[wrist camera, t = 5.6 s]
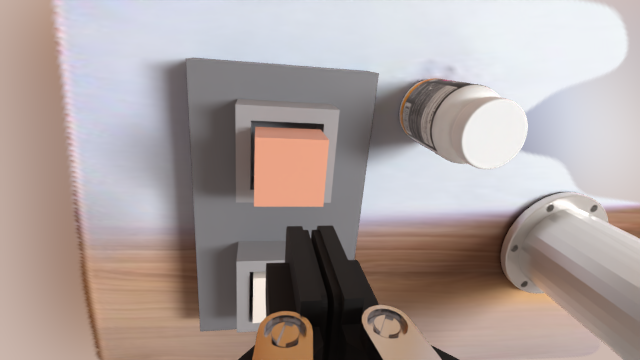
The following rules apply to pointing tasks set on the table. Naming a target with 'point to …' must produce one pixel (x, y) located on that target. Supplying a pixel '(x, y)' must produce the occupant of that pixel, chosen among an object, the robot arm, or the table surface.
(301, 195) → the terracotta key
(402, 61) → the table surface
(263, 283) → the pale key
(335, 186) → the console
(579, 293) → the robot arm
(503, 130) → the pill bottle
